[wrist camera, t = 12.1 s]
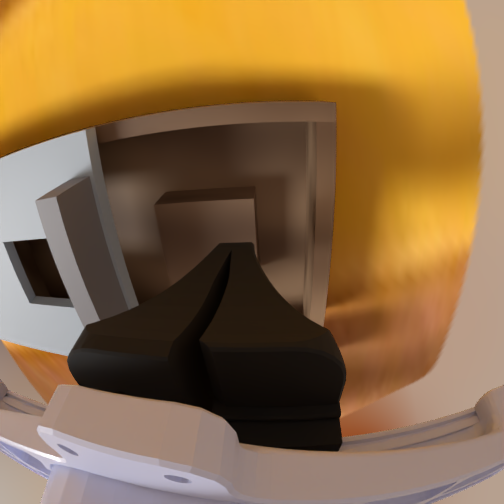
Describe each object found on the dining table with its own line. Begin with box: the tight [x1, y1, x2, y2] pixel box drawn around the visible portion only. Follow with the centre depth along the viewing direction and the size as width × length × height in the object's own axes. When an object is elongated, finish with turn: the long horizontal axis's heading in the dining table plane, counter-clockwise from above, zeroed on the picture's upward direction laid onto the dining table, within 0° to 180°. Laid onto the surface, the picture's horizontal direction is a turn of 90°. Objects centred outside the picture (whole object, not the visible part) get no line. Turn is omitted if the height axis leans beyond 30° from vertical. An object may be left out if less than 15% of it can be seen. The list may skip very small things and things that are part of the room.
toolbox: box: [0, 101, 336, 326], centre depth 16 cm, size 14×22×4 cm, turn 93°
